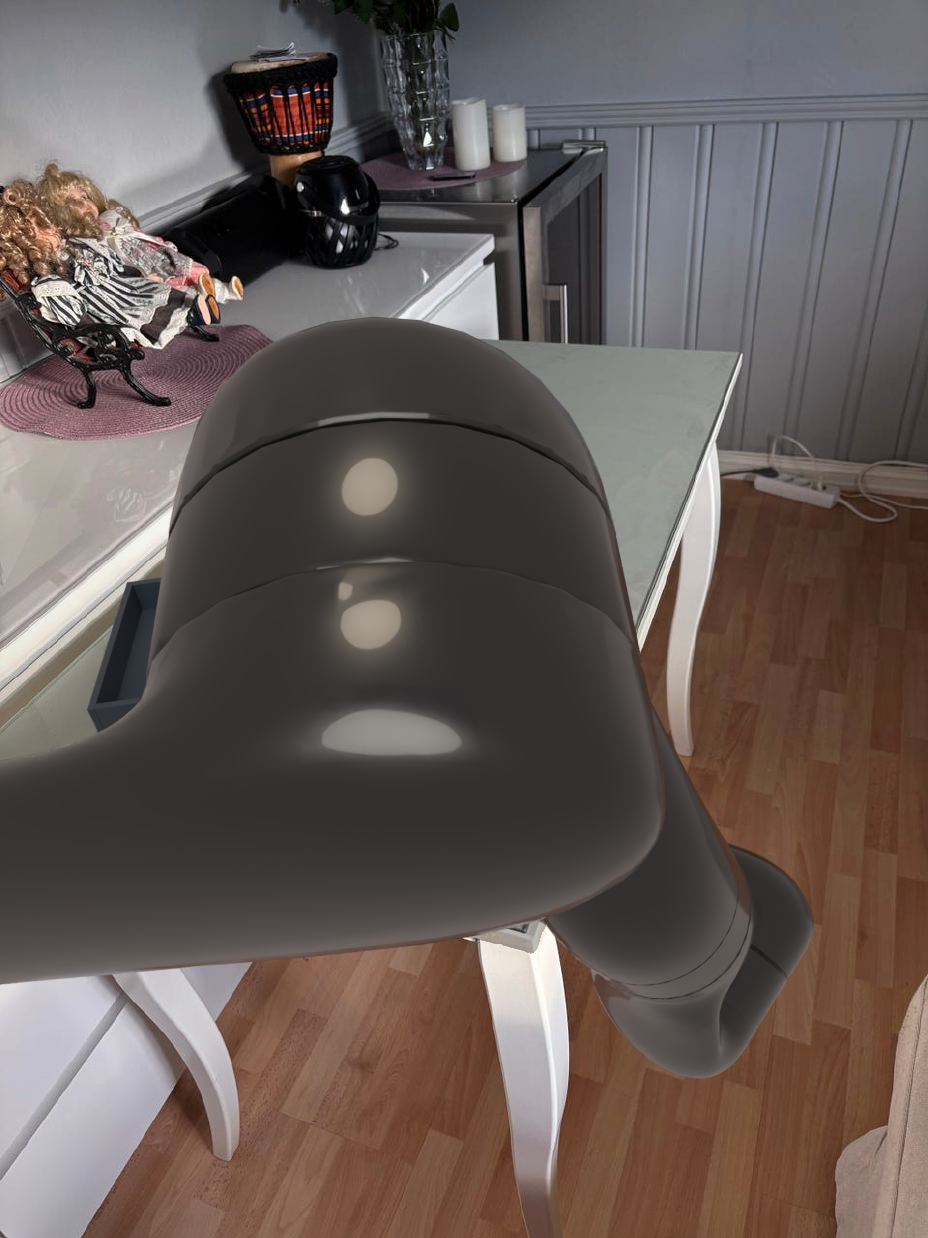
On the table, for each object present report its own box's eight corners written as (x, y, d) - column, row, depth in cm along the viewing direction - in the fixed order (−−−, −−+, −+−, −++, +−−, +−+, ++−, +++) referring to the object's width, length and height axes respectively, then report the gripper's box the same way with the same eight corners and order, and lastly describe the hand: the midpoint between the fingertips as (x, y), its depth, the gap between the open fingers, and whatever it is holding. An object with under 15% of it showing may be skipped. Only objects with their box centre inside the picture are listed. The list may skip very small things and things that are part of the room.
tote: (103, 743, 74) (86, 709, 72) (139, 613, 87) (126, 581, 85) (337, 709, 75) (328, 675, 72) (337, 585, 88) (330, 553, 86)
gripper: (538, 666, 54) (356, 564, 64) (351, 813, 46) (179, 671, 56) (543, 753, 58) (372, 645, 68) (374, 899, 51) (211, 754, 61)
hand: (286, 658), depth 62 cm, fingers closed on spotlight, 5 cm apart
